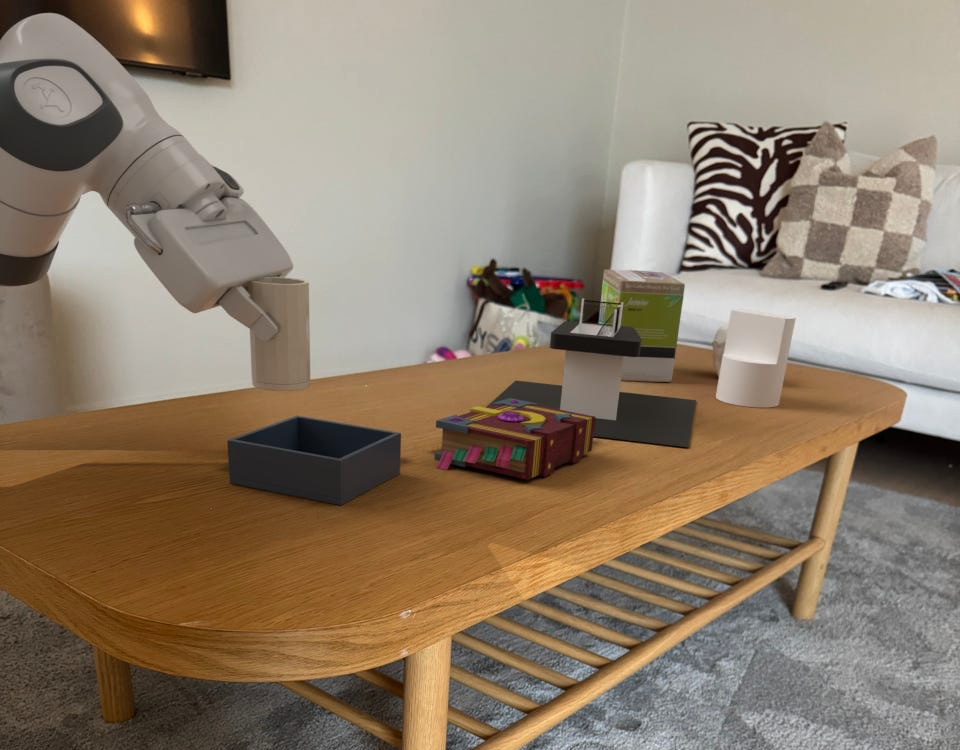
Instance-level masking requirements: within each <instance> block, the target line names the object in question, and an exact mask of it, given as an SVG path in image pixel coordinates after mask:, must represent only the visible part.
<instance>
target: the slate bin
mask: <svg viewBox="0 0 960 750" xmlns="http://www.w3.org/2000/svg"><path fill="white" fill-rule="evenodd" d="M401 449H402V433H401V432H397V431H392V430H386V429H380V428H375V427H368V426H362V425H356V424H351V423H344V422H338V421H332V420H326V419H320V418H316V417H315V418H314V417H309V416H303V415H294V416H292V417H288V418H286V419H283V420H280V421H277V422H275V423H271V424H269V425H266V426H262V427H260V428H257V429H254V430H252V431H248V432H245V433H243V434H240V435H237V436H235V437H232V438H229V439H227V457H228V476H229V478H228V479H229V484H232V485H236V486H242V487H246V488H250V489H251V488H252V489H257V490H262V491H266V492H271V493H276V494H280V495H281V494H282V495H286V496H291V497H297V498H301V499H306V500H313V501H317V502H322V503H326V504H332V505H336V506H343V505H344V504H346V503H348V502H350V501H352V500H354V499H355V498H357V497H359V496H361V495H363V494H365V493H366V492H368V491H370V490H372V489H374V488H376V487H378V486H380V485H382V484H383V483H385V482H387V481H389V480H390V479H392V478H394V477H397V476H398V475H400V474H401V455H402V454H401V453H402V452H401V451H402V450H401Z"/></svg>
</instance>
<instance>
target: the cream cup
mask: <svg viewBox="0 0 960 750" xmlns="http://www.w3.org/2000/svg"><path fill="white" fill-rule="evenodd" d="M248 293H249V295H250V297H249V298H250V299H251V300H252V301H253V302H254V303H255V304H257V305H258V306H259V307H260V308H261V309H262V310H263V311H264V312H265V313H268V312H269V313H270V314H271V315H272V316H273V318H274V319H275V320H276V321H277V322H278V323H279V324H280V326H281V330H280V332H279V333H278V334H277V335H276V336H275V337H274V338H273V339H272V340H270V341H268V342H262V341H260V339H259V338H258V337H257V336H256V335H255V334H254V333H253V332H252V331H251V330H250V329H249V349H250V370H251V373H250V374H251V385H252V386H253V387H255V388H257V389H260V390H263V391H265V390H266V391H271V392H272V391H273V392H294V391H295V392H296V391H303V390H306V389H309V388H310V386H311V337H310V335H311V333H310V326H311V325H310V283H309V281H308V280H306V279H301V278H294V277H285V278H284V277H283V278H282V277H264V278H263V279H259V280H256V281H251V282H248Z"/></svg>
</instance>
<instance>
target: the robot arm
mask: <svg viewBox="0 0 960 750" xmlns="http://www.w3.org/2000/svg"><path fill="white" fill-rule="evenodd" d="M90 192H96V193H97V194H99V196H100V197H101V199H102V201H103V203H104V205H105V206H106V207H107V208H108V209H109V210H110V211H111V213H112V214H113V215H114V216H115V217H116V218H117V219H118V221H120V223H121V224H122V225H123V226H124V227H125V228H126V230H127V231H129V233H131V235H132V236H133V237H134V239H133V246H134V247H135V250H136V251H137V253H138V255H139V256H140V258H141V259H142V261H143V262H144V263H145V265H146V266H147V267H148V268H149V269H150V271H151V272H152V273H153V275H154V276H155V277H156V278H157V280H158V281H159V282H160V283H161V285H162V286H163V287H164V288H165V289H166V290H167V292H169V295H170V296H172V298H173V299H174V300H175V301H176V302H177V303H178V304H179V305H180V306H182V307H183V308H184V309H186V310H187V311H189V312H190V313H192V314H198V313H202V312H205V311H208V310H211V309H215V308H219V307H221V308H222V309H223V311H225V312H226V313H227V314H228V316H230V317H231V318H233V319H234V320H236V321H237V322H239V323H240V324H242V325H243V326H245V327H246V328H248V329H249V331H250V330H251V331H252V332H253V333H254V334H255V335H256V336H257V337H258V338H259V339H260V341H262V342H268V341H270V340H272V339H273V338H274V337H275V336H276V335H277V334H278V333H279V332H280V330H281V326H280V324H279V323H278V322H277V321H276V320H275V319H274V318H273V316H272V315H271V314H270V313H269V312H268V313H265V312H264V311H263V310H262V309H261V308H260V307H259V306H258V305H257V304H255V303H254V302H253V301H252V300H251V299H250V298H249V297H250V295H249V293H248V282H251V281H256V280H259V279H263V278H264V277H282V278H283V277H284V278H287V276H289V274H290V273H291V272H292V271H293V269H294V264H293V262H292V258H291V256H290V254H289V252H288V251H287V249H286V248H285V246H283V244H282V243H281V241H280V240H279V238H278V237H277V236H276V235H275V233H274V232H273V230H272V229H271V228H270V227H269V226H268V225H267V223H266V222H265V221H264V220H263V218H262V217H261V215H260V214H259V213H258V211H256V209H254V208H253V206H251V205H250V203H249V202H247V201H246V200H244V199H243V198H241V197H242V196H243V195H244V192H245V190H244V188H243V186H241V184H240V183H239V181H237V180H236V179H235V177H234V176H232V175H231V174H230V173H228V172H226V171H225V170H222V169H220V168H218V167H217V166H215V165H213V164H211V163H210V162H209V161H208V160H207V159H206V158H205V157H204V156H203V155H202V154H201V153H199V152H198V151H197V150H196V149H195V148H194V146H193V145H192V143H190V141H189V140H188V139H187V138H186V137H185V136H184V135H183V134H182V133H181V132H180V131H179V130H178V129H176V128H175V127H173V126H171V125H170V124H169V123H168V122H166V121H165V120H164V119H163V117H162V116H161V115H160V114H159V113H158V111H157V110H156V108H155V106H154V104H153V102H152V100H151V98H150V97H149V95H148V94H147V92H146V91H145V90H144V89H143V88H142V87H141V85H140V83H138V81H137V80H136V79H135V78H134V77H133V75H131V74H130V73H129V72H128V70H127V69H126V68H125V67H124V65H122V64H121V63H120V61H118V59H116V57H115V56H114V55H112V54H111V52H110V51H109V50H108V49H106V48H105V46H103V45H102V43H100V42H99V41H98V40H97V39H95V37H94V36H93V35H91V34H90V33H88V32H87V31H86V30H85V29H84V28H82V27H81V26H80V25H78V23H75V22H74V21H73V20H71V19H70V18H68V17H66V16H65V15H62V14H60V13H54V12H43V13H37V14H33V15H30V16H27V17H25V18H23V19H21V20H19V21H18V22H16V23H15V24H13V25H12V26H11V27H10V28H9V29H8V30H7V31H6V32H5V33H4V34H3V36H2V37H1V38H0V287H9V288H10V287H12V288H13V287H22V286H27V285H28V286H29V285H31V284H35V283H36V282H39V281H40V280H42V279H43V278H44V277H45V276H46V275H47V274H48V272H49V271H50V268H51V265H52V262H53V259H54V258H55V254H56V252H57V250H58V247H59V244H60V239H61V237H62V235H63V233H64V231H65V230H66V228H67V226H68V224H69V222H70V220H71V219H72V216H73V214H74V212H75V211H76V209H77V207H78V205H79V203H80V201H81V198H82V195H83V196H84V195H85V194H87V193H90Z"/></svg>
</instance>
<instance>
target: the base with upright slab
mask: <svg viewBox="0 0 960 750" xmlns="http://www.w3.org/2000/svg"><path fill="white" fill-rule="evenodd" d="M796 319H797V318H796V317H794V316H787V315H783V314H781V315H780V314H775V313H769V312H762V311H755V310H750V309H744V308H737V309H736V308H735V309H731V310H730V314H729V320H728V321H729V325H728V331H727V337H726V343H725V349H724V354H723V357H722V362H721V368H720V374H719V376H718V381H717V386H716V391H715V398H716V399H717V400H718V401H720V402H722V403H725V404H730V405H734V406H739V407H747V408H748V407H749V408H760V409H761V408H763V409H764V408H774V407H778V406H779V404H780V400H781V397H782V391H783V385H784V380H785V376H786V371H787V366H788V359H789V353H790V349H791V345H792V339H793V335H794V329H795V324H796Z"/></svg>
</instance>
